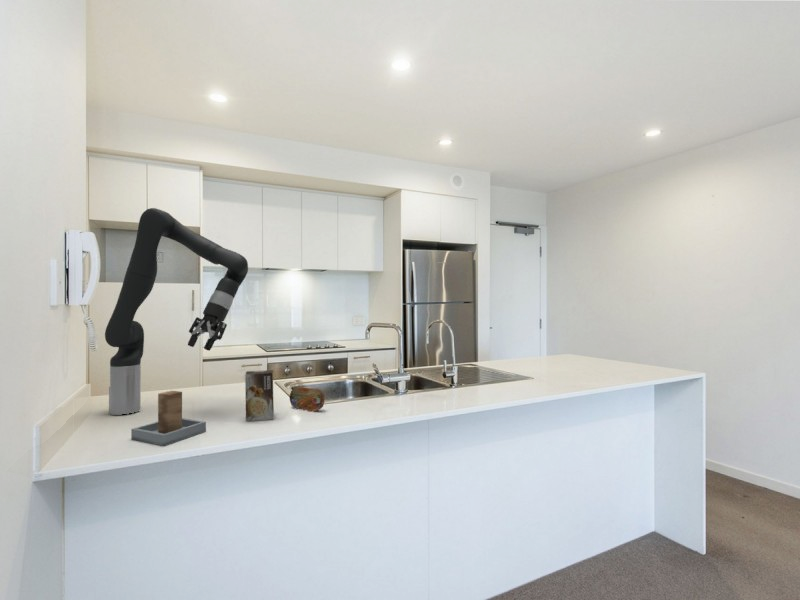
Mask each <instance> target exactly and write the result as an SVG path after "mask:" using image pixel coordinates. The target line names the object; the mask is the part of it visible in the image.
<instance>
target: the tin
mask: <svg viewBox="0 0 800 600" xmlns="http://www.w3.org/2000/svg"><path fill="white" fill-rule="evenodd" d="M289 402H290V404H291V407H293V409H295V408H296V409H295V410H298V409H303V410H302V411H305V410H308V411H307V412H312V411H314V412H317V411H319V410H320V409H322V408H323V407H324V405H325V394H324V392H323V390H321V389H320V388H317V387H308V386H295V387H293V388H292V389H291V391H290V393H289Z"/></svg>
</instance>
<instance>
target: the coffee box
mask: <svg viewBox="0 0 800 600" xmlns="http://www.w3.org/2000/svg"><path fill="white" fill-rule="evenodd" d="M244 377H245V378H244V380H245V387H244V389H245V390H244V391H245V422H257V421H266V420H267V421H269V420H274V418H275V417H274V416H275V415H274V414H275V413H274V411H275V409H274V405H275V404H274V403H275V401H274V370H272V369H271V370H269V369H268V370H250V371H249V370H248V371H246V372H245V375H244Z"/></svg>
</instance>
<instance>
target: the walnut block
mask: <svg viewBox="0 0 800 600" xmlns="http://www.w3.org/2000/svg"><path fill="white" fill-rule="evenodd" d="M157 396H158V397H157V422H158V433H163V434H166V433H169V432H172V431H175V430H178V429H182V418H183V391H178V390H169V391H165V392H160V393H158V395H157Z"/></svg>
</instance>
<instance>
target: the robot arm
mask: <svg viewBox="0 0 800 600" xmlns="http://www.w3.org/2000/svg"><path fill="white" fill-rule="evenodd" d="M138 221H139V222H138V228H137V233H136V238H135V243H134V247H133V250H132V253H131V256H130V259H129V262H128V265H127V269H126V271H125V273H124V278H123V280H122V281H123V282H122V285H121V289H120V292H119V295H118V298H117V302H116V304H115V307H114V310H113V311H112V314H111V316H110V318H109V320H108V323H107V326H106V328H105V330H104V331H105V332H104V338H105V342H106V344H107V345H109V346H110V347H113V348H118V349H117V352H116V353H115V354H114V355H113V356H111V358H110V360H109V371H110V372H109V381H110V382H109V387H108V413H109V412H110V413H109V414H110V415H111V416H123V415H122V414H127V415H130V414H129V413H132V414H135V413H134V412H136V413H138V412H137V411H139V410H140V411H141V403H142V402H141V400H142V399H141V398H142V397H141V389H142V388H141V387H142V386H141V384H142V383H141V382H142V381H141V378H142V377H141V375H142V374H141V371H142V370H141V368H142V367H141V363H142V362H141V360H142V359H143V358H142V357H143V355H144V349H145V348H144V347H145V346H144V345H145V344H144V343H145V331H144V327H143V325H142V324H141V323H140V322H139V321H137V320H134V319H135V316H136V314H137V311H138V310H139V308H140V306H141V305H142V304H143V303H144V302H145V300H146V299H147V298H148V297H149V296H150V293H151V292H152V291H153V288H154V285H155V282H156V278H157V275H158V259H157V258H158V257H157V256H158V255H157V253H158V248H159V246H160V245H159V244H160V241H161V239H162V237H164V238H168V239H170V240H172V241H175V242H177V243H179V244H181V245H182V246H184V247H186V248H187V249H188V250H190V251H191V252H192V253H194V254H196V255H197V256H199V257H201V258H202V259H204V260H206V261H208V262H210V263H211V264H214V265H220V266H223V267H225V268H226V269H227V270H226V273H225V274H224V276H223V277H221V279H219V281H218V283H217V285H216V287H215V289H214V291H213V293H212V294H211V296H210V297H209V300H208V301H207V304H206V305H205V308H204V310H203V312H202V314H203V317H202V318H200V317H197V316H196V317H195V319H194V321H193V323H192V324H191V326H190V329H189V330H188V333H190V335H191V336H190V338H189V340H188V342H187V346H189V347H191V348H194V347H195V345H196V343H197V341H198V338H199V337H200V336H201V335H204V334H205V333H208V338H207V340H206V343H204V344H205V345H204V346H203V348H204V350H206V351H209V352H210V351H211V349H212V348H213V346H214V344H215V342H216V341H218V340H219V341H220V340H222V338H223V335H224V334H225V331H226V328H227V326H228V324H227V323H225V320H226V318H227V315H228V313H229V311H230V309H231V307H232V305H233V303H234V302H233V301H234V299H235V297H236V295H237V293H238V290H239V288H240V287H241V285H242V284H243V282H244V280H245V278H246V277H247V276H248V275H247V274H248V272H249V264H248V260H247V258H246V257H245V256H243V255H242V254H240V253H239V252H236V251H233V250H231V249H228V248H224V247H223V246H221V245H220V244H218V243H216V242H214V241H212V240H211V239H208V238H207V237H205V236H203V235H201V234H199V233H197V232H195V231H193V230H192V229H189V228H188V227H187V226H186V225H184V224H182V223H181V222H180V221H179V220H177V219H176V218H175V217H174V216H172V215H171V214H170V213H168V212H167V211H165V210H162V209H159V208H157V207H152V208H147V209H146V210H145V211H143V212H142V214H141V215H140V218H139V220H138ZM140 411H139V412H140Z"/></svg>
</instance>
